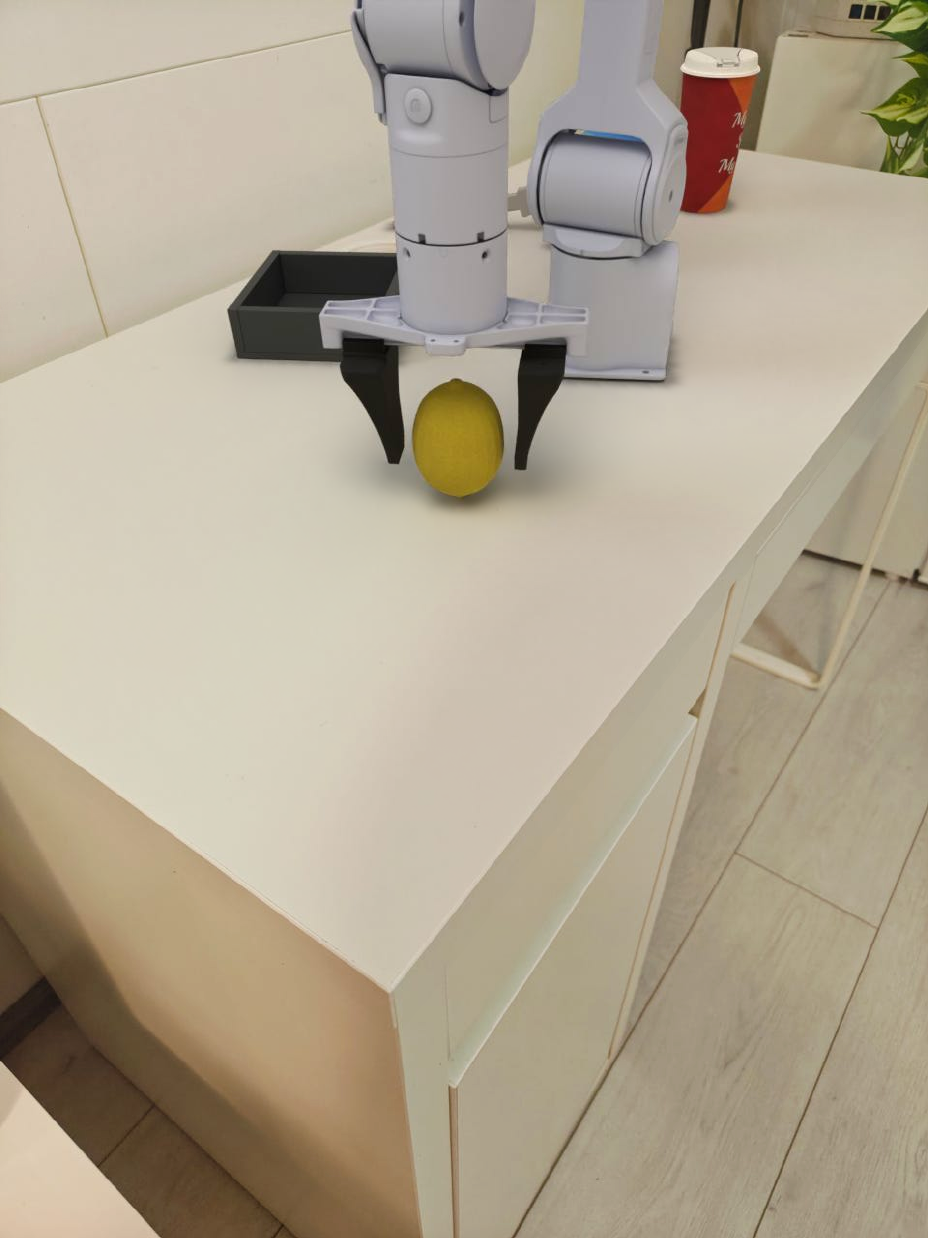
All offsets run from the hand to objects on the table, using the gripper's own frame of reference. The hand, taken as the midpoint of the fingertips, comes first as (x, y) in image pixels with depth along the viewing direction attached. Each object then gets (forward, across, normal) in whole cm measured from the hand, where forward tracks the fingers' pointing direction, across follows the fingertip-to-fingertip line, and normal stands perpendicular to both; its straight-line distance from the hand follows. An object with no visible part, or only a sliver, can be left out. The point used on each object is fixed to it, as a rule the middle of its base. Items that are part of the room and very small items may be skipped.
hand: (458, 458), depth 53 cm
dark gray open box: (+3, -14, +24) cm, 28 cm away
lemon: (+3, 0, 0) cm, 3 cm away
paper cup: (+3, +19, +57) cm, 60 cm away
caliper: (+3, -3, +48) cm, 48 cm away
